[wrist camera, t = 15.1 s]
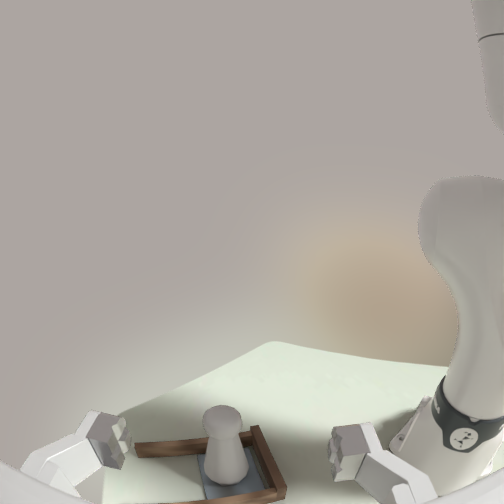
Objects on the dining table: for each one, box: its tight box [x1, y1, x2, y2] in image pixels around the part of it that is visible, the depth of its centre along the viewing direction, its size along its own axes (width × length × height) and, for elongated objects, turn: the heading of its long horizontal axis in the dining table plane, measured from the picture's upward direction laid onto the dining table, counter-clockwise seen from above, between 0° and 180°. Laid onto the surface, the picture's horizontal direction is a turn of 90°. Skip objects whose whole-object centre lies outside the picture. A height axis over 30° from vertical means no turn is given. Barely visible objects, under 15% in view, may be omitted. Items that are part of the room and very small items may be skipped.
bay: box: [135, 425, 287, 504], centre depth 31 cm, size 18×12×4 cm, turn 106°
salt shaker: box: [203, 405, 249, 486], centre depth 31 cm, size 6×6×13 cm
